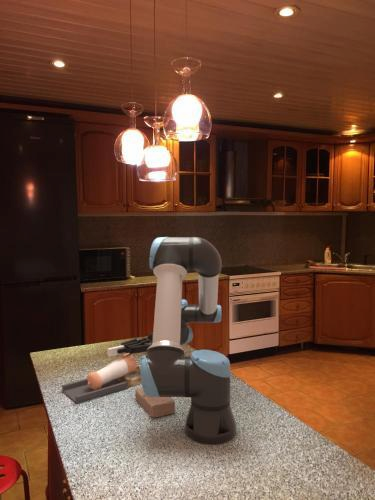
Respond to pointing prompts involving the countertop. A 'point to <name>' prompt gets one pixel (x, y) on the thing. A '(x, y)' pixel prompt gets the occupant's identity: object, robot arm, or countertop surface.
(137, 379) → the oak cradle
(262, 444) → the countertop surface
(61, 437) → the countertop surface
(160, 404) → the brick
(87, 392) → the grey tray
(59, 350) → the countertop surface
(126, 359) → the salt shaker
